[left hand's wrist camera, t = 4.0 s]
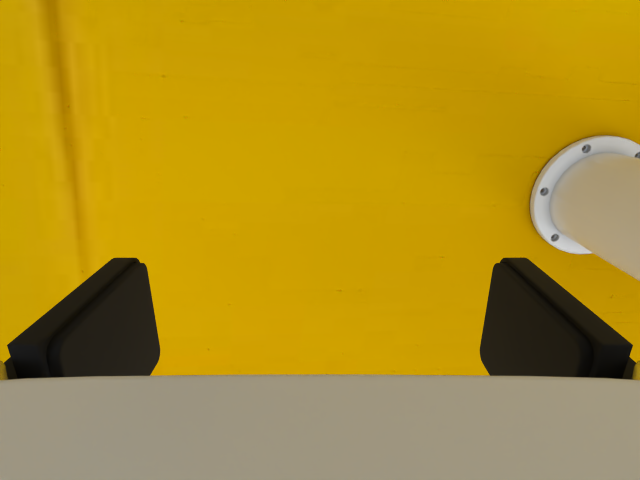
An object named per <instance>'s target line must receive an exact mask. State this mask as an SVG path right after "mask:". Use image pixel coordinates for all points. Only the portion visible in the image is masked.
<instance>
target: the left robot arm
mask: <svg viewBox="0 0 640 480" xmlns="http://www.w3.org/2000/svg"><path fill="white" fill-rule="evenodd" d="M582 148H583V149H582ZM541 189H542V191H541ZM540 191H541V192H540ZM530 214H531V218H532V222H533V224H534V226H535V228H536V230H537V232H538V233H539V234H540V236H541V237H542V238H543V239H544V240H545V241H547V242H548V243H549V244H551V245H552V246H554V247H556V248H557V249H559V250H562V251H565V252H568V253H575V254H590V253H594V254H596V255H598V256H599V257H601V258H602V259H604V260H606V261H607V262H609V263H611V264H612V265H614V266H616V267H617V268H619V269H621V270H622V271H624V272H626V273H627V274H629V275H631V276H632V277H634V278H636V279H637V280H639V281H640V145H639V144H637V143H635V142H633V141H631V140H629V139H625V138H621V137H616V136H608V135H605V136H593V137H589V138H585V139H582V140H580V141H577V142H575V143H573V144H571V145H569V146H567V147H566V148H564V149H563V150H561V151H560V152H559V153H558V154H556V155H555V156H554V157H553V158H552V159H551V160H550V161H549V162H548V163H547V165H546V166H545V167H544V168H543V169H542V171H541V173H540V175H539V176H538V178H537V180H536V182H535V185H534V187H533V190H532V194H531V200H530ZM7 346H8V349H9V353H10V356H11V357H10V358H9V359H8V360H7V361H6V362H4V363H3V362H2V361H0V480H640V361H638V362H637V363H636V362H634V361H633V360H632V359H631V358H630V357H629V356H630V353H631V349H632V346H633V345H632V344H631V343H630V342H628V341H627V340H626V339H625V338H624V337H622V336H621V335H620V334H619V333H617V332H616V331H615V330H614V329H613V328H611V327H610V326H609V325H608V324H606V323H605V322H604V321H603V320H602V319H600V318H599V317H598V316H597V315H596V314H594V313H593V312H592V311H591V310H589V309H588V308H587V307H586V306H585V305H583V304H582V303H581V302H580V301H578V300H577V299H576V298H575V297H574V296H572V295H571V294H570V293H569V292H568V291H566V290H565V289H564V288H563V287H561V286H560V285H559V284H558V283H557V282H555V281H554V280H553V279H552V278H550V277H549V276H548V275H547V274H546V273H544V272H543V271H542V270H541V269H540V268H538V267H537V266H536V265H535V264H533V263H532V262H531V261H530V260H529V259H527V258H503V259H502V260H501V262H500V263H496V264H495V265H494V267H493V272H492V278H491V284H490V290H489V296H488V302H487V308H486V315H485V321H484V327H483V333H482V339H481V345H480V357H481V360H482V363H483V364H484V366H485V368H486V369H487V371H488V373H489V374H490V376H461V375H176V376H150V374H151V373H152V371H153V369H154V368H155V366H156V364H157V363H158V360H159V356H160V345H159V339H158V333H157V327H156V321H155V315H154V308H153V302H152V296H151V290H150V284H149V278H148V272H147V267H146V265H145V264H144V263H140V262H139V260H138V259H137V258H113V259H111V260H110V261H109V262H108V263H107V264H105V265H104V266H103V267H102V268H100V269H99V270H98V271H97V272H96V273H94V274H93V275H92V276H91V277H90V278H88V279H87V280H86V281H85V282H83V283H82V284H81V285H80V286H79V287H77V288H76V289H75V290H74V291H72V292H71V293H70V294H69V295H68V296H66V297H65V298H64V299H63V300H62V301H60V302H59V303H58V304H57V305H55V306H54V307H53V308H52V309H51V310H49V311H48V312H47V313H46V314H44V315H43V316H42V317H41V318H40V319H38V320H37V321H36V322H35V323H34V324H32V325H31V326H30V327H29V328H27V329H26V330H25V331H24V332H23V333H21V334H20V335H19V336H18V337H16V338H15V339H14V340H13V341H12V342H10V343H9V344H8V345H7Z"/></svg>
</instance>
